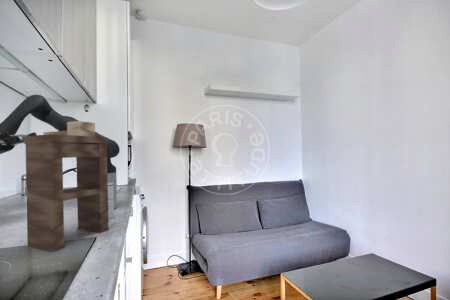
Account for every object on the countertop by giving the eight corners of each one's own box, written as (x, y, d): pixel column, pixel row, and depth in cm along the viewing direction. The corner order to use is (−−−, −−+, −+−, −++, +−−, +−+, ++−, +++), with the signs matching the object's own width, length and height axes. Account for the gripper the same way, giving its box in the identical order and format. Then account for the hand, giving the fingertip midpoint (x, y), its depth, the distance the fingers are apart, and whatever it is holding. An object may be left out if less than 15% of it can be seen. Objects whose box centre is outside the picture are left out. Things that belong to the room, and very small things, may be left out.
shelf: (84, 226, 82) (83, 138, 82) (109, 229, 77) (107, 137, 77) (26, 246, 65) (24, 136, 65) (54, 252, 60) (51, 134, 61)
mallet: (56, 139, 84) (55, 126, 84) (95, 137, 77) (94, 123, 77) (38, 139, 78) (37, 124, 78) (78, 136, 71) (77, 121, 71)
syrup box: (91, 220, 89) (90, 183, 89) (104, 216, 94) (103, 181, 94) (102, 221, 87) (101, 184, 87) (114, 217, 92) (113, 182, 92)
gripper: (20, 152, 96) (45, 144, 90) (-26, 155, 82) (-1, 144, 77) (17, 135, 96) (41, 126, 91) (-30, 135, 83) (-5, 123, 77)
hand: (22, 134), depth 84 cm, fingers open, 8 cm apart
